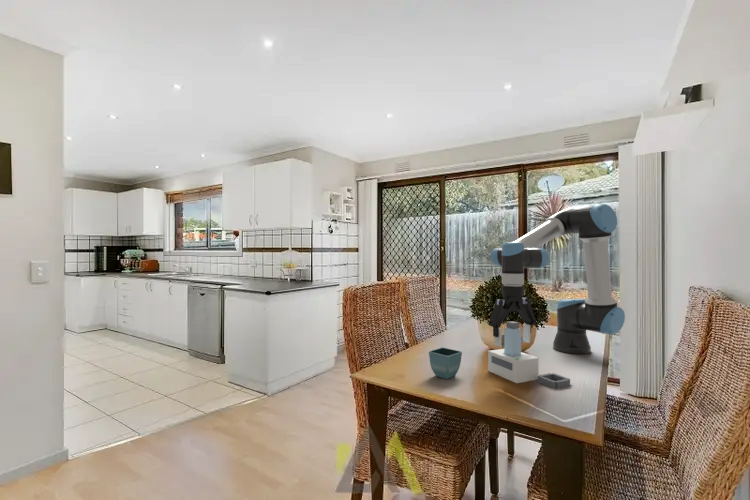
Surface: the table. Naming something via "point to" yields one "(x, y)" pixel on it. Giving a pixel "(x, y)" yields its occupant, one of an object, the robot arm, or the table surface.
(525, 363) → the port panel
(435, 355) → the flower pot
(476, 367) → the table surface
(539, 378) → the holster
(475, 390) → the table surface
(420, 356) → the table surface
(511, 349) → the plug
